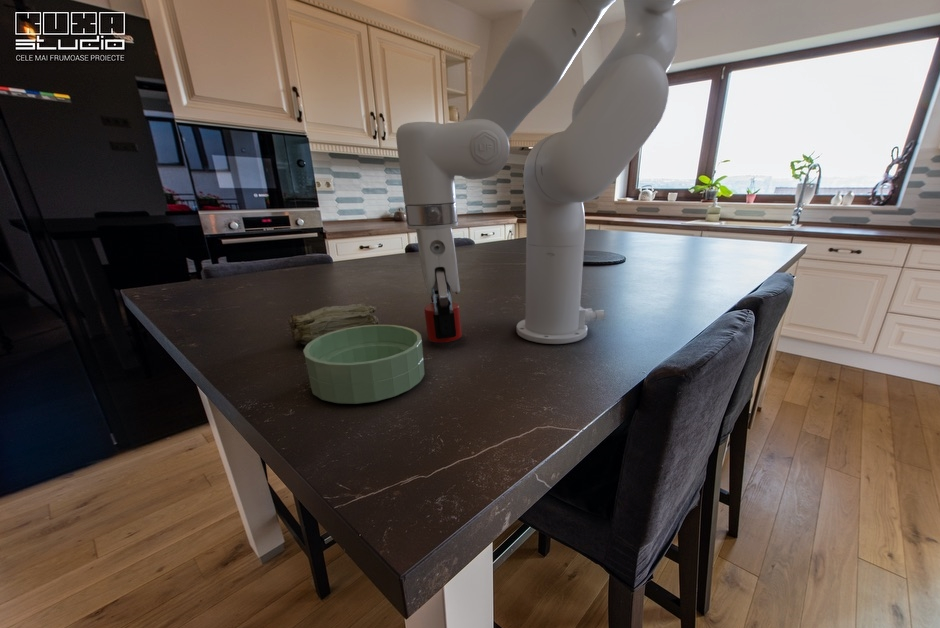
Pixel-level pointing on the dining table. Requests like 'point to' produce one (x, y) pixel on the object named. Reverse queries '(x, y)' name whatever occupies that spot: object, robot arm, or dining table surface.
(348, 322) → the olive rough flat block
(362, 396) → the sage green round tray
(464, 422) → the dining table surface
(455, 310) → the red squat cylinder
